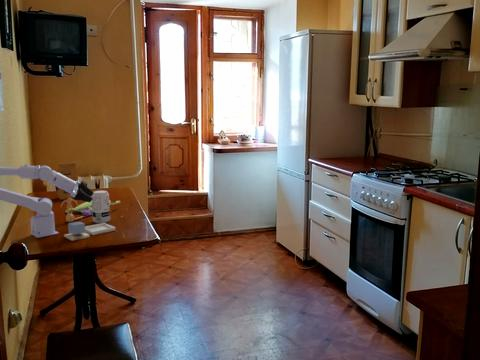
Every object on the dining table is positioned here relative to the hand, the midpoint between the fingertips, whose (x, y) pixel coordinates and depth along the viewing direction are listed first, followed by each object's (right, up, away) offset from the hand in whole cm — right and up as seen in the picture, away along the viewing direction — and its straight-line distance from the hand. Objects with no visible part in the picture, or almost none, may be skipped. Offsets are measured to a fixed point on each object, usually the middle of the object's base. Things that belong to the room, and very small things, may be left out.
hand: (91, 197), depth 209 cm
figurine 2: (-12, -9, +41) cm, 44 cm away
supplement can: (-1, -13, +17) cm, 21 cm away
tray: (+3, -15, +1) cm, 15 cm away
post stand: (-4, -17, -9) cm, 19 cm away
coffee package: (-38, -3, +73) cm, 83 cm away
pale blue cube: (-4, -15, -9) cm, 18 cm away
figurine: (-16, -13, +18) cm, 27 cm away
